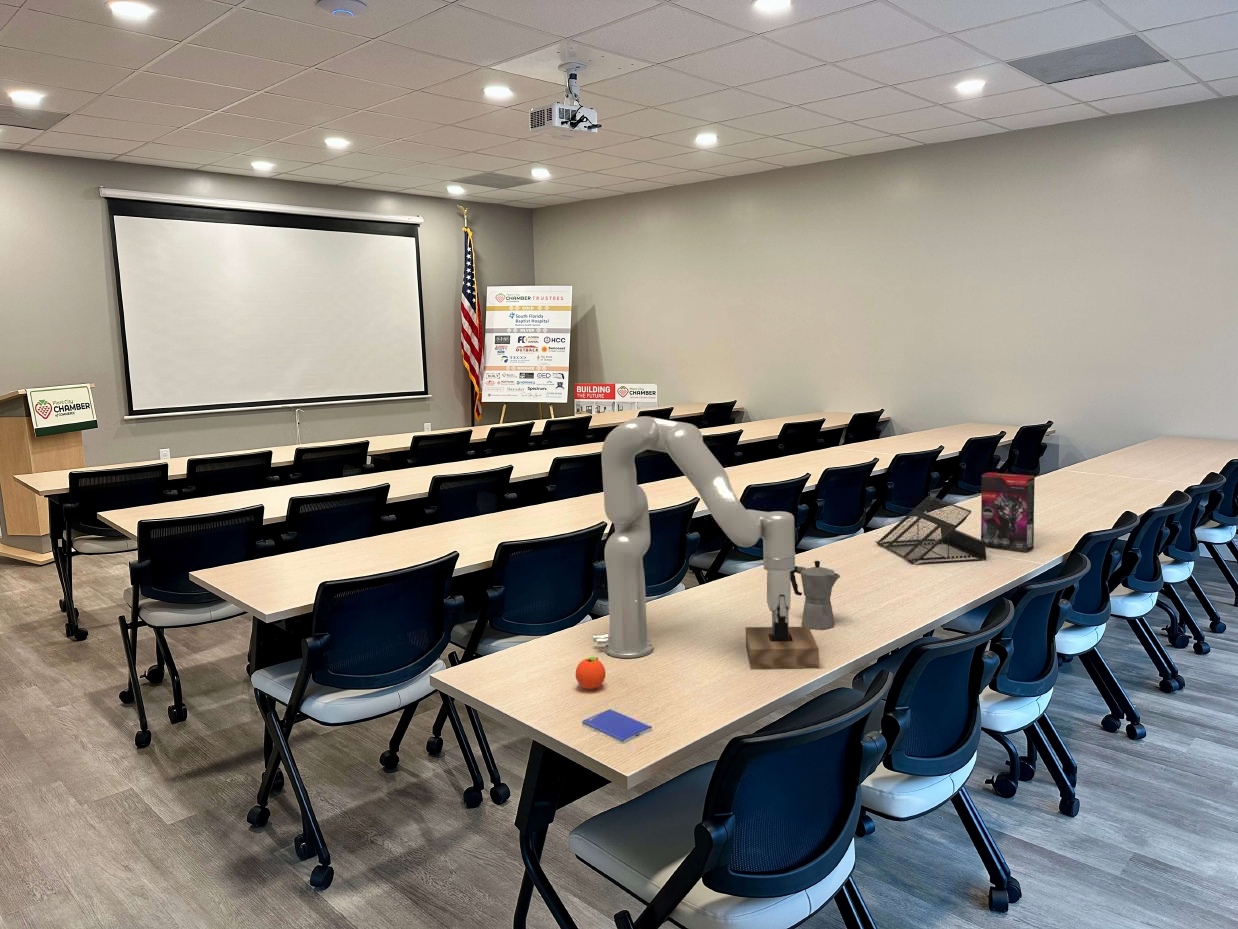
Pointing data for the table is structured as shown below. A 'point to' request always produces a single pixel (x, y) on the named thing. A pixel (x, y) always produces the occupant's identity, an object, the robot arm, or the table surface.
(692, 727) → the table surface
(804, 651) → the socket block
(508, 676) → the table surface
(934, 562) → the portable electronic device stand
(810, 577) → the coffeepot
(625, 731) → the hard drive
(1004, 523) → the graphics card box
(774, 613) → the peg
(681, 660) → the table surface
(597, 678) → the clementine
